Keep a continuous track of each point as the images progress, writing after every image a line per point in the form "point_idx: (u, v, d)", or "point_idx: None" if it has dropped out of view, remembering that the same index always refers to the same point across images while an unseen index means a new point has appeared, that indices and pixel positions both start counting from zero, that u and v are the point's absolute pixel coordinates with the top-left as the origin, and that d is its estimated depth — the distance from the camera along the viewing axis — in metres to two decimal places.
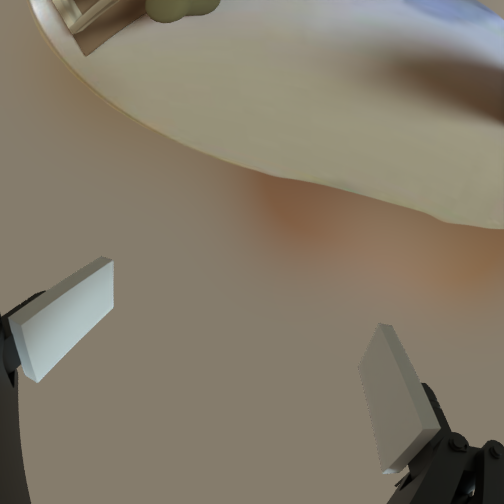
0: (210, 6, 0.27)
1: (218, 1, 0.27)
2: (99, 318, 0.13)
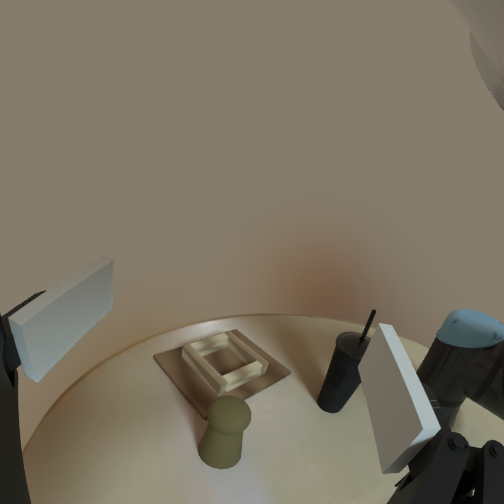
0: (214, 458, 0.31)
1: (219, 466, 0.31)
2: (99, 318, 0.13)
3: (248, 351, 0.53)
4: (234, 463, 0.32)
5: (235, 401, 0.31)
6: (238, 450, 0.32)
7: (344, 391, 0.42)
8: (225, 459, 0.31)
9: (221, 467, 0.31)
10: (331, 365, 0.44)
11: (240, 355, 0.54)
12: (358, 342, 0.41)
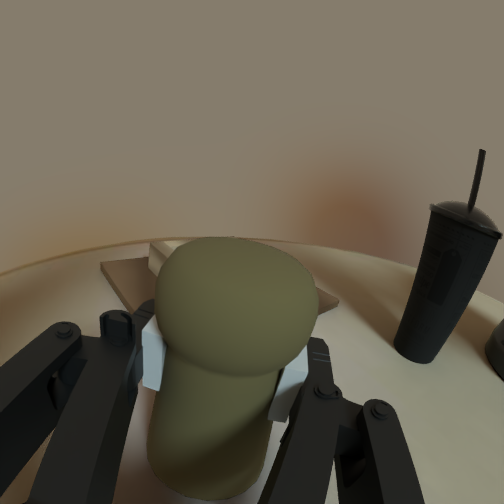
0: (186, 473, 0.09)
1: (203, 495, 0.09)
2: None
3: None
4: (247, 485, 0.10)
5: (260, 244, 0.10)
6: (261, 447, 0.10)
7: (453, 309, 0.20)
8: (220, 476, 0.09)
9: (208, 497, 0.10)
10: (427, 258, 0.22)
11: None
12: (470, 205, 0.20)
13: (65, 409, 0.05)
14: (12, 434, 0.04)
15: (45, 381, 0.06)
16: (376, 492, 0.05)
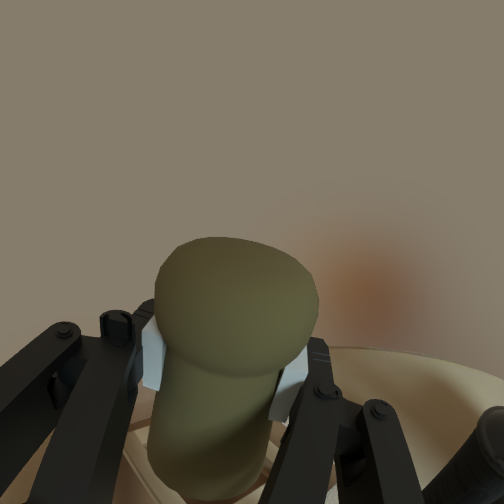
0: (187, 473, 0.09)
1: (203, 495, 0.09)
2: None
3: None
4: (247, 485, 0.10)
5: (260, 244, 0.10)
6: (262, 447, 0.10)
7: None
8: (220, 477, 0.09)
9: (208, 497, 0.10)
10: (452, 485, 0.12)
11: None
12: None
13: (65, 409, 0.05)
14: (12, 434, 0.04)
15: (45, 381, 0.06)
16: (376, 492, 0.05)
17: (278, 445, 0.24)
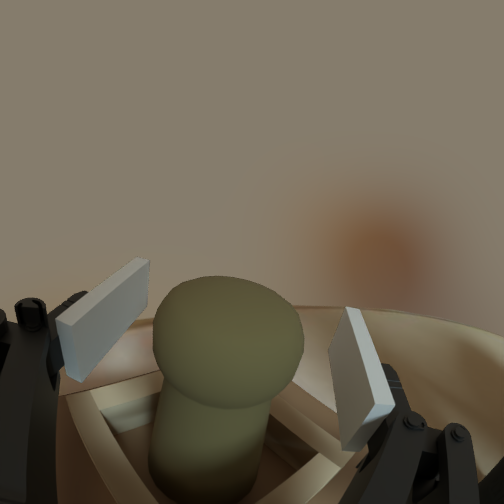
0: (185, 486, 0.10)
1: None
2: (135, 317, 0.14)
3: (286, 420, 0.14)
4: (241, 496, 0.11)
5: (250, 285, 0.10)
6: (253, 463, 0.11)
7: None
8: (216, 489, 0.10)
9: None
10: None
11: None
12: None
13: None
14: None
15: None
16: None
17: None
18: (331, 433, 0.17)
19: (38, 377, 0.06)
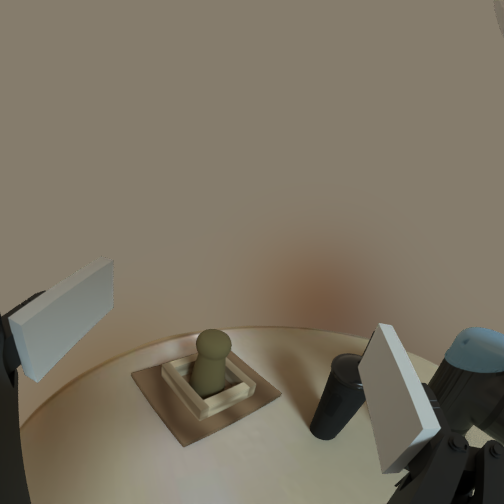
0: (201, 388, 0.42)
1: (205, 397, 0.42)
2: (99, 318, 0.13)
3: (234, 371, 0.46)
4: None
5: (218, 332, 0.42)
6: (221, 381, 0.43)
7: (339, 419, 0.36)
8: (210, 389, 0.42)
9: None
10: (325, 391, 0.38)
11: (225, 375, 0.48)
12: (357, 367, 0.35)
13: None
14: None
15: None
16: None
17: None
18: (254, 381, 0.49)
19: None
